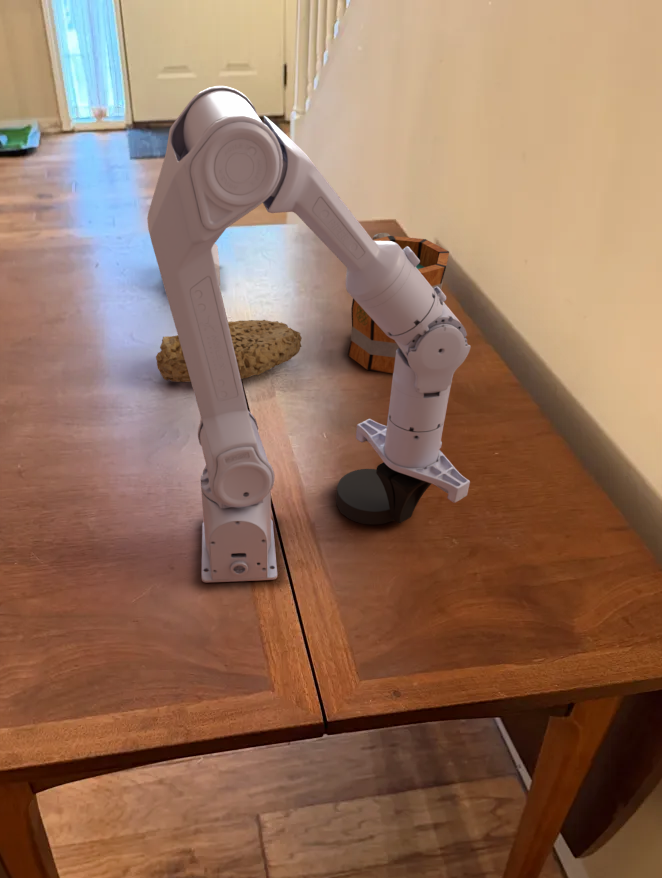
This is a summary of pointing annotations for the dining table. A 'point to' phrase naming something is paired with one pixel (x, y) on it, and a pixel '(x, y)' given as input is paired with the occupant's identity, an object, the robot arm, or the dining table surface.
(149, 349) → the dining table surface
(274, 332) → the sponge
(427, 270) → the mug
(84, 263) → the dining table surface
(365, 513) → the puck
